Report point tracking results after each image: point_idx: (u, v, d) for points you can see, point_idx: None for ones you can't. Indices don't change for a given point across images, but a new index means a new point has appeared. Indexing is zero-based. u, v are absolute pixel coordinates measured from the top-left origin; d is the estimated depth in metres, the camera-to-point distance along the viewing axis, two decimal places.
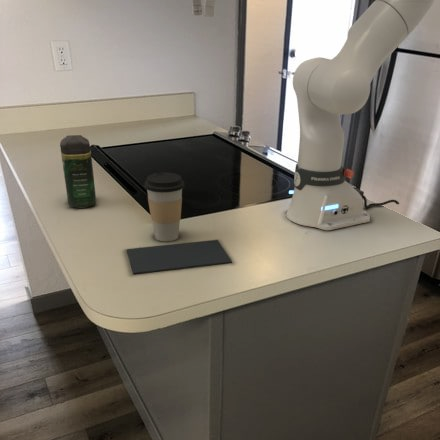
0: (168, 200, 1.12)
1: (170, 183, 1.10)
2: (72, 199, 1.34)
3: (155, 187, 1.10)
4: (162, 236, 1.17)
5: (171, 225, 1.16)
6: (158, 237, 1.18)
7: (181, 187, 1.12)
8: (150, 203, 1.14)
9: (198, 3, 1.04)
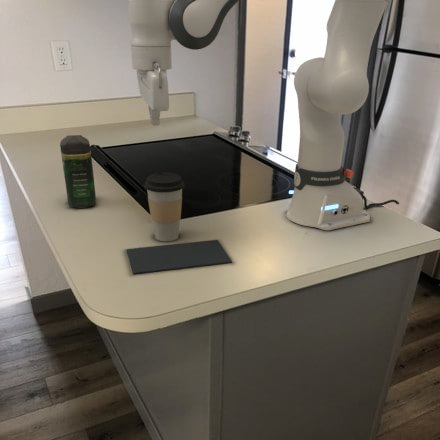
0: (168, 200, 1.12)
1: (170, 183, 1.10)
2: (72, 199, 1.34)
3: (155, 187, 1.10)
4: (162, 236, 1.17)
5: (171, 225, 1.16)
6: (158, 237, 1.18)
7: (181, 187, 1.12)
8: (150, 203, 1.14)
9: None
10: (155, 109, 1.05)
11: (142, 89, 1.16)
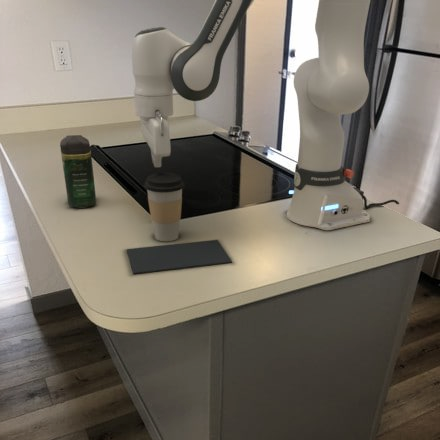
0: (168, 200, 1.12)
1: (170, 183, 1.10)
2: (72, 199, 1.34)
3: (155, 187, 1.10)
4: (162, 236, 1.17)
5: (171, 225, 1.16)
6: (158, 237, 1.18)
7: (181, 187, 1.12)
8: (150, 203, 1.14)
9: None
10: (157, 155, 1.10)
11: (145, 132, 1.21)
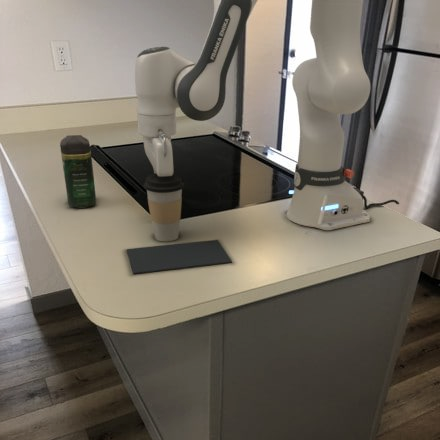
0: (168, 200, 1.12)
1: (170, 183, 1.10)
2: (72, 199, 1.34)
3: (155, 187, 1.10)
4: (162, 236, 1.17)
5: (171, 225, 1.16)
6: (158, 237, 1.18)
7: (181, 187, 1.12)
8: (150, 203, 1.14)
9: None
10: (160, 175, 1.09)
11: (147, 149, 1.20)
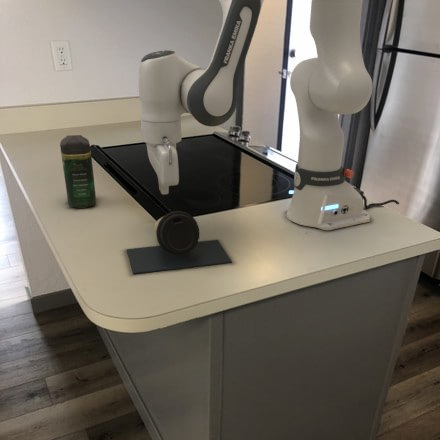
0: None
1: (184, 251, 1.04)
2: (72, 199, 1.34)
3: (168, 249, 1.04)
4: None
5: None
6: None
7: (195, 245, 1.06)
8: None
9: None
10: (165, 184, 1.04)
11: (151, 157, 1.15)
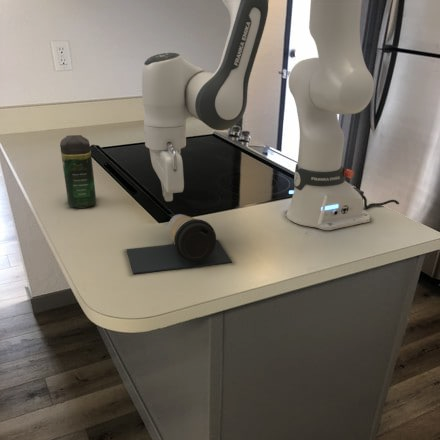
0: None
1: (189, 259, 1.05)
2: (72, 199, 1.34)
3: (178, 247, 1.04)
4: None
5: None
6: (168, 228, 1.16)
7: (199, 260, 1.08)
8: (174, 231, 1.07)
9: None
10: (169, 191, 1.01)
11: (154, 163, 1.12)
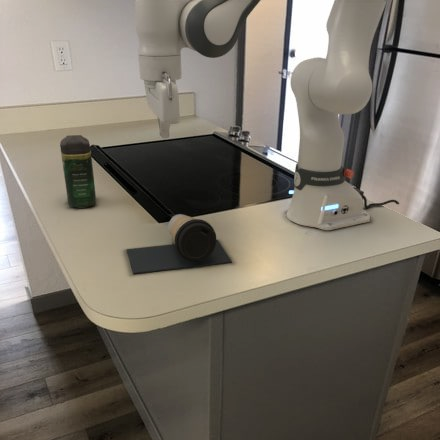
0: None
1: (189, 258, 1.05)
2: (72, 199, 1.34)
3: (178, 246, 1.04)
4: None
5: None
6: (168, 228, 1.15)
7: (199, 260, 1.08)
8: (175, 231, 1.07)
9: None
10: (165, 122, 0.99)
11: (150, 100, 1.10)
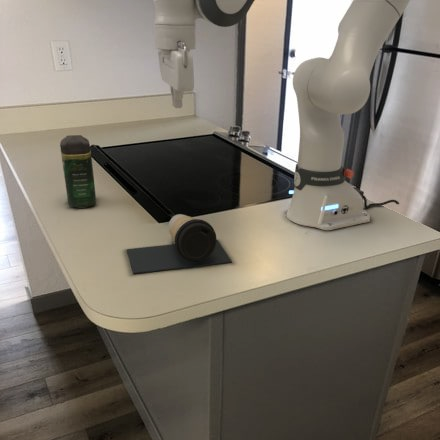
0: None
1: (189, 258, 1.05)
2: (72, 199, 1.34)
3: (178, 246, 1.04)
4: None
5: None
6: (168, 228, 1.15)
7: (199, 260, 1.08)
8: (175, 231, 1.07)
9: None
10: (180, 89, 1.02)
11: (164, 71, 1.13)
